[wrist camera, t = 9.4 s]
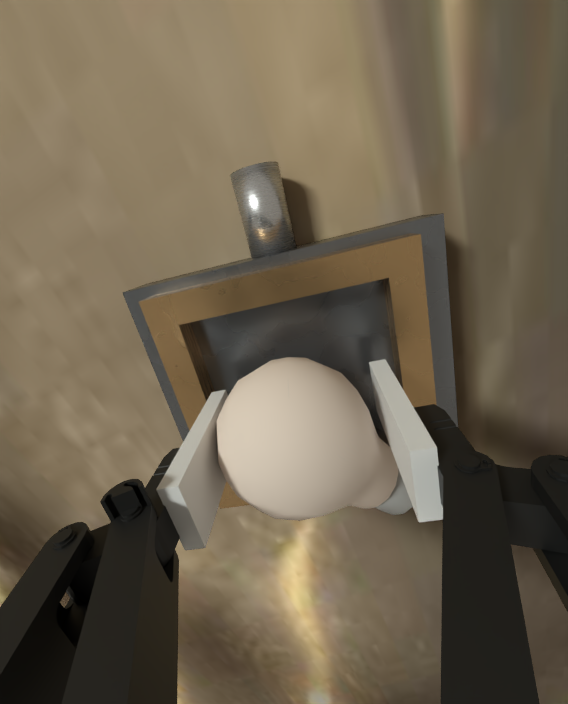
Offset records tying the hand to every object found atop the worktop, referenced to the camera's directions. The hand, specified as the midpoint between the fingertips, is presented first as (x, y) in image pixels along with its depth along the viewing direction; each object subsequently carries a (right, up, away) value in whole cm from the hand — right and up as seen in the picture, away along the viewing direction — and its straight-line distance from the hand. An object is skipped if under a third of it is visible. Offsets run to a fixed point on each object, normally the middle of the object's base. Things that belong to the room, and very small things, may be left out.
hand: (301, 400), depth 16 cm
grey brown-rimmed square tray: (0, +2, +5) cm, 5 cm away
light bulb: (+1, -1, +1) cm, 2 cm away
